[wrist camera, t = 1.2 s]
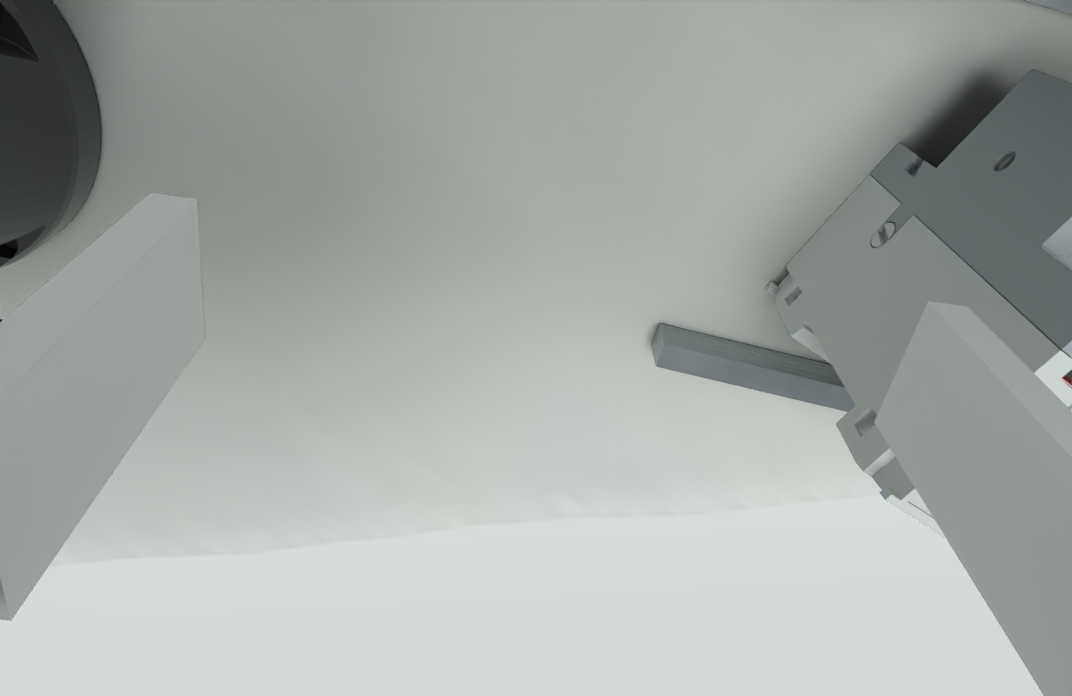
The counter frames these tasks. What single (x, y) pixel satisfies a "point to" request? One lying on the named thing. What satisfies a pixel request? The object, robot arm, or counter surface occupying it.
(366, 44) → the counter surface
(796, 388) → the dark grey piece
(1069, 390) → the circuit breaker
